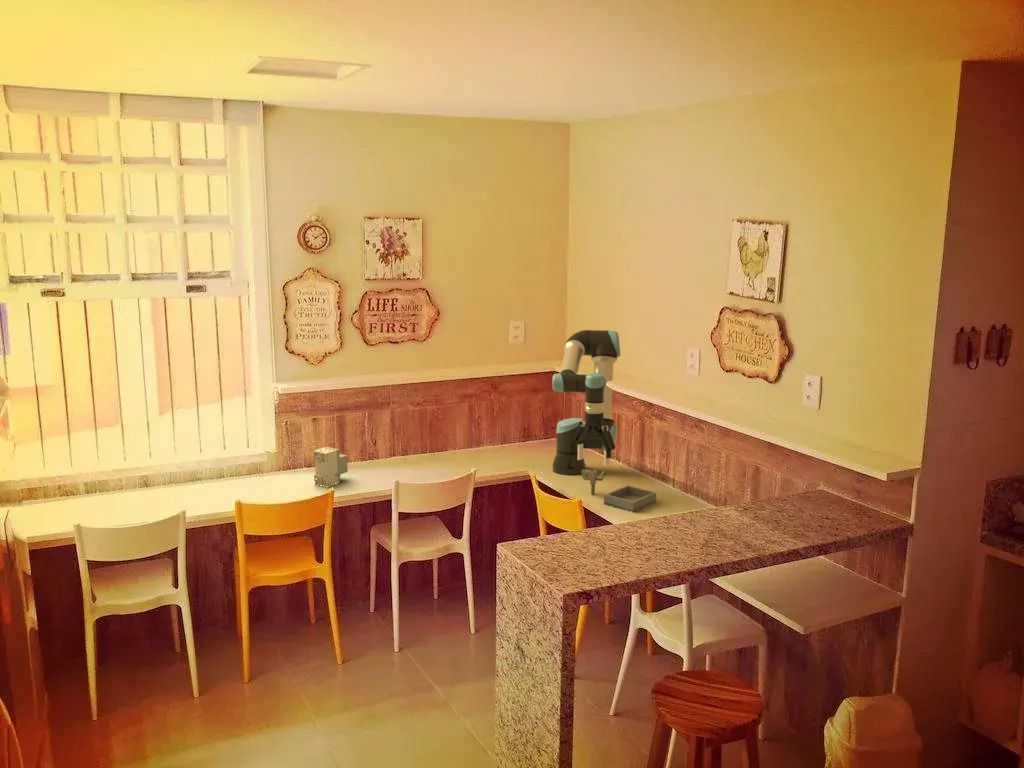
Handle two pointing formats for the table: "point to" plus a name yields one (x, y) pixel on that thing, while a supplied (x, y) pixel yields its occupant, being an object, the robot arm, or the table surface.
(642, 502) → the parts tray
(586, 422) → the robot arm
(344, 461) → the circuit breaker
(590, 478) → the mechanical component
